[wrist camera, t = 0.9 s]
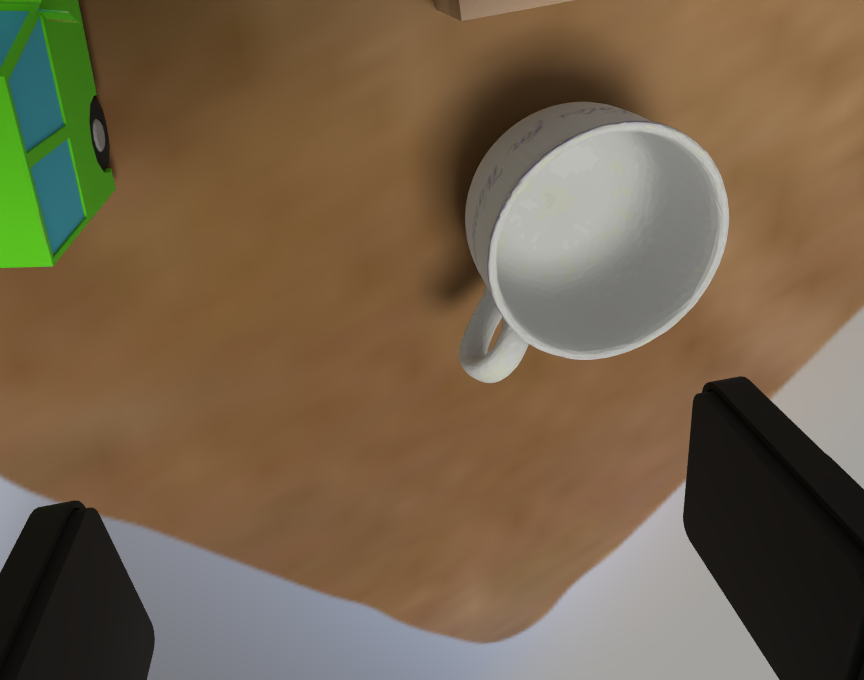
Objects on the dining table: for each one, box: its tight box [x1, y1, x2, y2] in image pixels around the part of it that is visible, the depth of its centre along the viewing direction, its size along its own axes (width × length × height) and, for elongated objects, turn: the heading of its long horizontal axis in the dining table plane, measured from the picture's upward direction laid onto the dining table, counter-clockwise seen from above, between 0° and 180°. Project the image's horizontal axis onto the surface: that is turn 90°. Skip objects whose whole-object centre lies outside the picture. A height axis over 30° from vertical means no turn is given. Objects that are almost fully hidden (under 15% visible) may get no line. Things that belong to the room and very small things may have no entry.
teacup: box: [459, 102, 729, 383], centre depth 33 cm, size 14×11×8 cm
